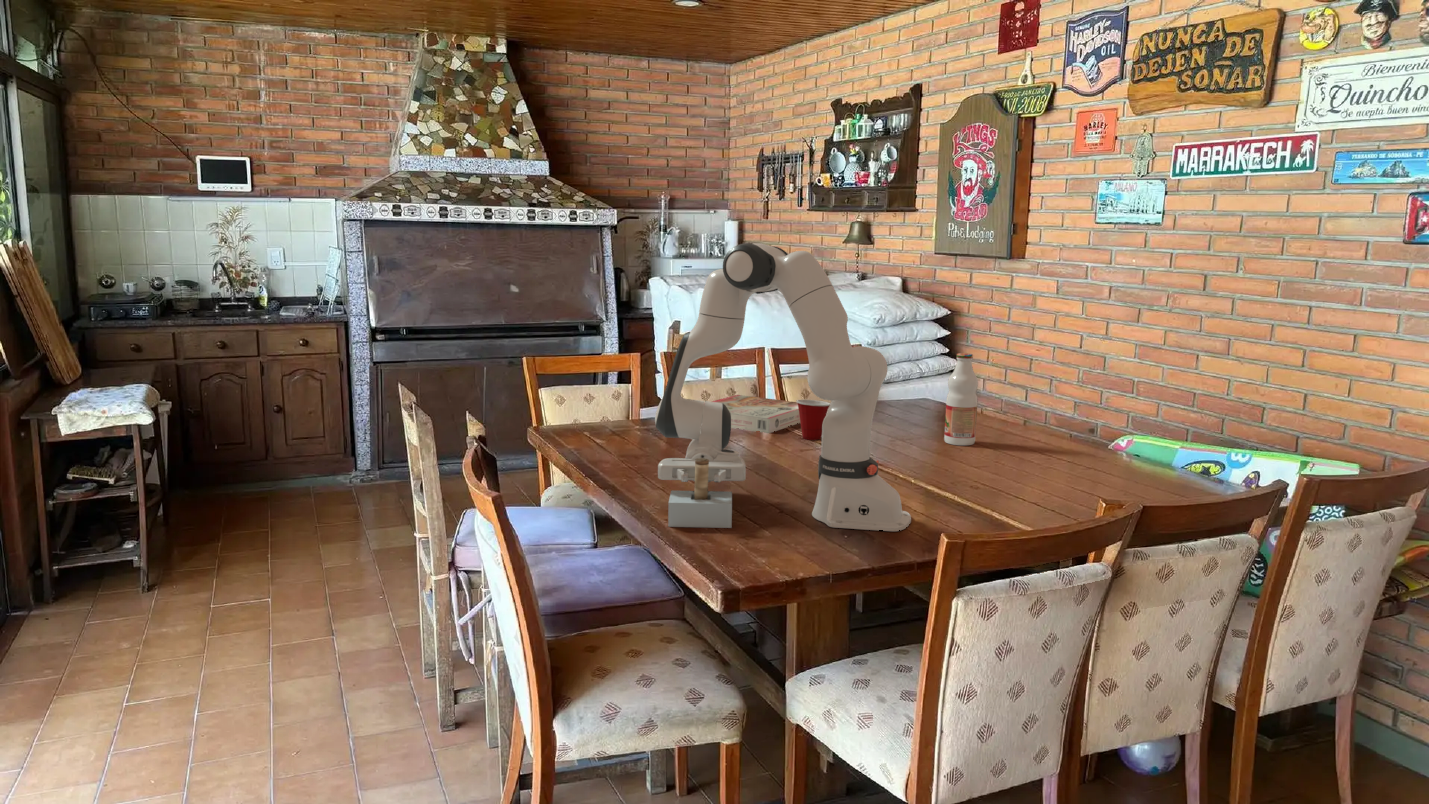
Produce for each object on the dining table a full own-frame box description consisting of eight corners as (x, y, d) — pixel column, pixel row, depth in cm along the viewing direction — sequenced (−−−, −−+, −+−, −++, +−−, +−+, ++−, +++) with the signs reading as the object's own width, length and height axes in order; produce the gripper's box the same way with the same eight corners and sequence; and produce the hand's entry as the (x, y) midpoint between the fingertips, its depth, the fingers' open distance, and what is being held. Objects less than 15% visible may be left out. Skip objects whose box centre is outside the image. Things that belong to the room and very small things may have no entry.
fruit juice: (962, 447, 296) (968, 356, 291) (937, 442, 303) (942, 353, 298) (981, 443, 301) (986, 354, 296) (956, 438, 309) (961, 351, 304)
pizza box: (737, 394, 354) (815, 404, 337) (737, 409, 355) (814, 419, 338) (687, 407, 328) (769, 418, 311) (687, 422, 329) (769, 434, 312)
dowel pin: (709, 510, 219) (710, 459, 217) (704, 514, 216) (705, 462, 214) (696, 508, 220) (698, 457, 218) (691, 512, 217) (693, 460, 215)
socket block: (731, 514, 223) (731, 491, 222) (731, 527, 213) (731, 503, 212) (671, 513, 223) (671, 490, 222) (668, 526, 213) (668, 502, 212)
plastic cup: (836, 439, 304) (838, 402, 302) (810, 443, 298) (811, 405, 296) (814, 433, 313) (815, 396, 311) (788, 436, 307) (789, 399, 305)
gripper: (659, 449, 229) (654, 464, 215) (745, 451, 228) (746, 465, 215) (659, 475, 230) (654, 491, 216) (744, 477, 230) (745, 493, 216)
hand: (700, 478), depth 216 cm, fingers open, 6 cm apart
